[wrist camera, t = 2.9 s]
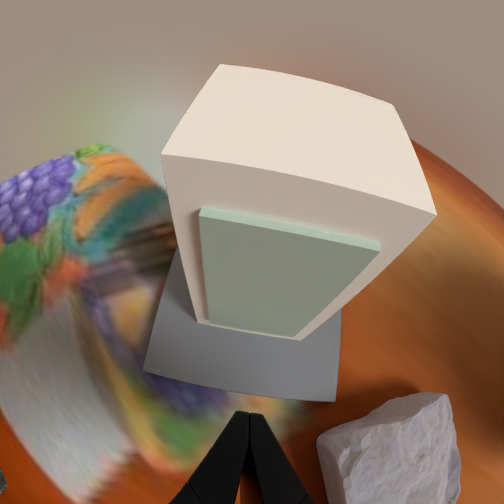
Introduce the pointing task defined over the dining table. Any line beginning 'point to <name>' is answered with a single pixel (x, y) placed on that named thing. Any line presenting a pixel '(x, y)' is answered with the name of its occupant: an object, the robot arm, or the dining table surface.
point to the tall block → (288, 198)
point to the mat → (239, 352)
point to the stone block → (394, 454)
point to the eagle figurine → (2, 482)
